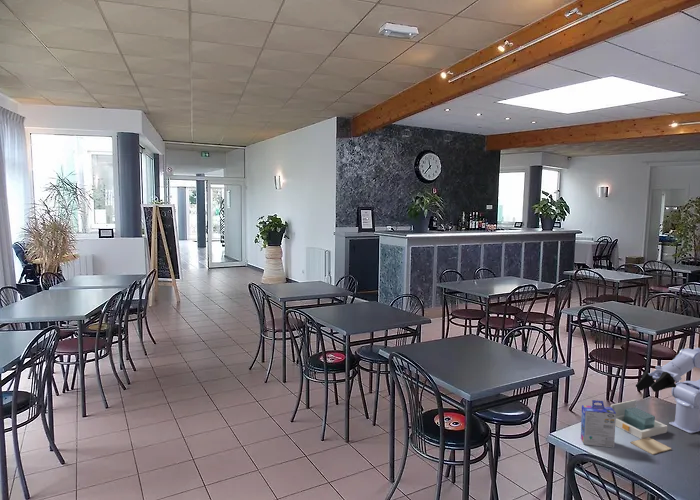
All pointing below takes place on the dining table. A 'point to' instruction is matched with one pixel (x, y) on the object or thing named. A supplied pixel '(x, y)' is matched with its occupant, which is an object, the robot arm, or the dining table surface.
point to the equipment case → (641, 434)
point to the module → (639, 418)
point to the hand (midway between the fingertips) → (645, 388)
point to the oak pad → (651, 445)
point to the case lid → (623, 407)
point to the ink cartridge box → (598, 425)
